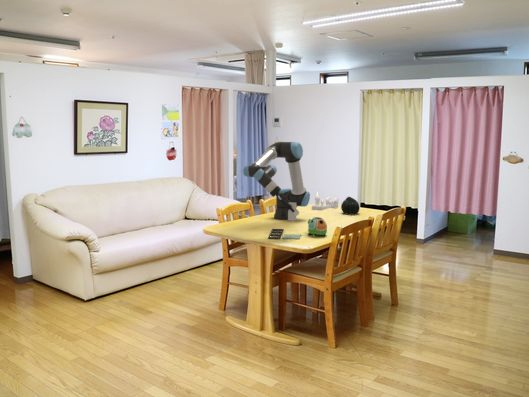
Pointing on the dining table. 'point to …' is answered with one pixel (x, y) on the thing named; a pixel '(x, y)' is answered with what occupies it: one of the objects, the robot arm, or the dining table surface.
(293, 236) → the mat
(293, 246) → the dining table surface
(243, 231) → the dining table surface
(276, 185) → the robot arm
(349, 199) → the squash
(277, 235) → the dark brown flat frame
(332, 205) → the toy castle
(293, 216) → the gray rectangular brick
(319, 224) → the turtle holder
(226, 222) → the dining table surface
